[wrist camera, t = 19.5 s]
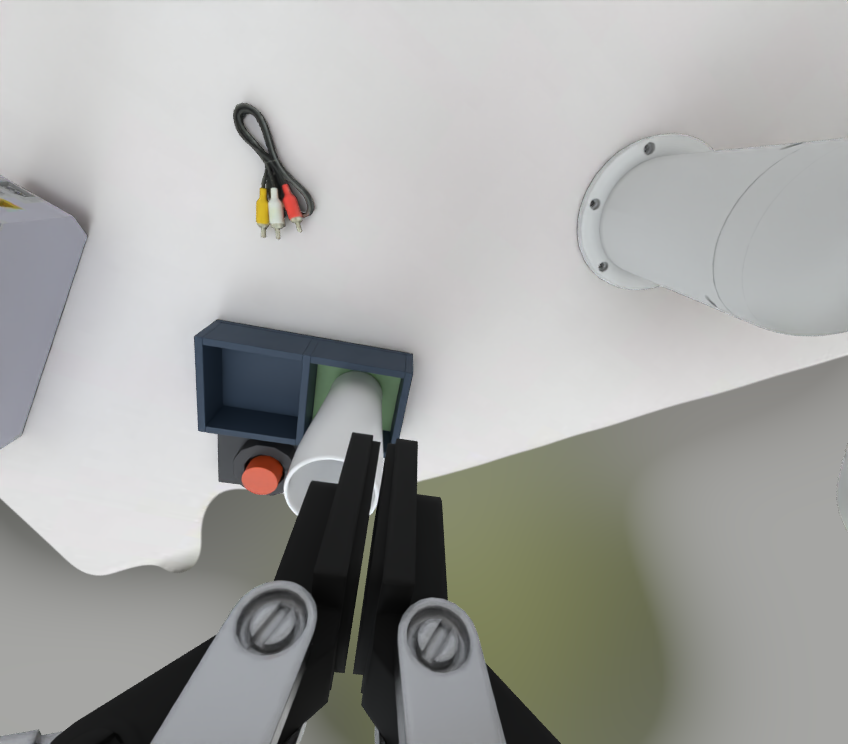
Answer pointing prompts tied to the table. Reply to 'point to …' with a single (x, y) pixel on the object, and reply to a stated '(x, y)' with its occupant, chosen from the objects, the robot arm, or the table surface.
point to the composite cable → (272, 179)
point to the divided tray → (286, 381)
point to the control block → (250, 457)
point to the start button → (262, 475)
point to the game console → (30, 294)
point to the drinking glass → (336, 436)
